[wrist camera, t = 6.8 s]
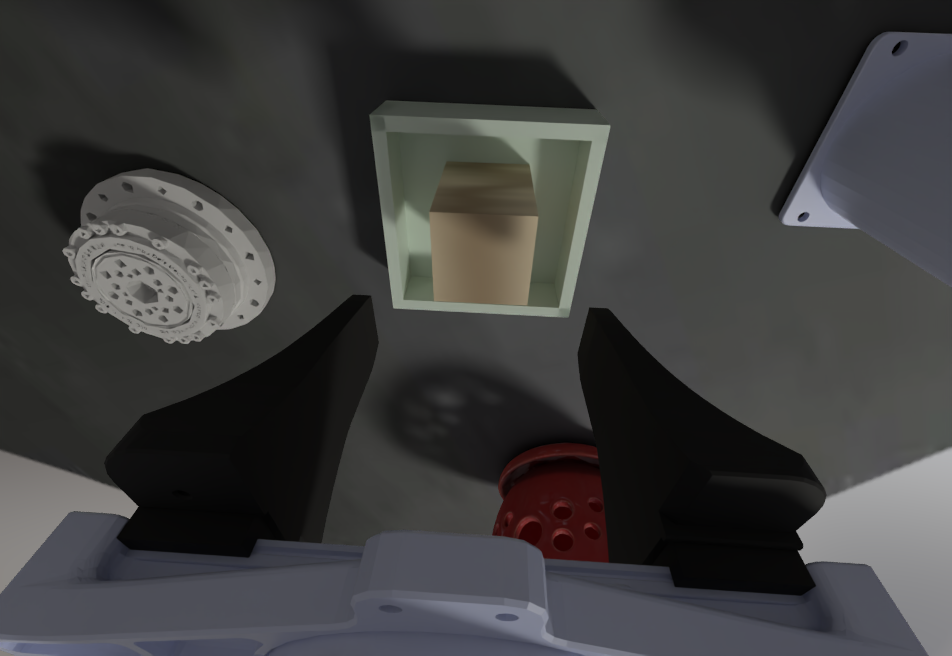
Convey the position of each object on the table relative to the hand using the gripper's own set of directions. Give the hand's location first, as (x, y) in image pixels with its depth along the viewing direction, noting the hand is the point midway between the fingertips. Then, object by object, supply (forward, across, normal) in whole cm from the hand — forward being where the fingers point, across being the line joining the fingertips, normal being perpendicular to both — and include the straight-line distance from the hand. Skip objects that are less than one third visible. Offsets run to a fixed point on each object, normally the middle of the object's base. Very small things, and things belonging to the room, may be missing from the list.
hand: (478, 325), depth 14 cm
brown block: (+10, 0, 0) cm, 10 cm away
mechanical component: (+10, +18, +4) cm, 21 cm away
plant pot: (+10, -8, +25) cm, 28 cm away
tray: (+10, 0, 0) cm, 10 cm away
